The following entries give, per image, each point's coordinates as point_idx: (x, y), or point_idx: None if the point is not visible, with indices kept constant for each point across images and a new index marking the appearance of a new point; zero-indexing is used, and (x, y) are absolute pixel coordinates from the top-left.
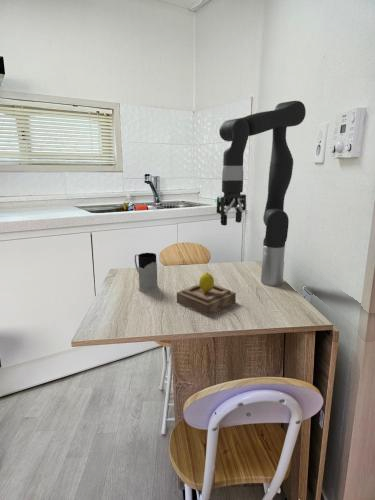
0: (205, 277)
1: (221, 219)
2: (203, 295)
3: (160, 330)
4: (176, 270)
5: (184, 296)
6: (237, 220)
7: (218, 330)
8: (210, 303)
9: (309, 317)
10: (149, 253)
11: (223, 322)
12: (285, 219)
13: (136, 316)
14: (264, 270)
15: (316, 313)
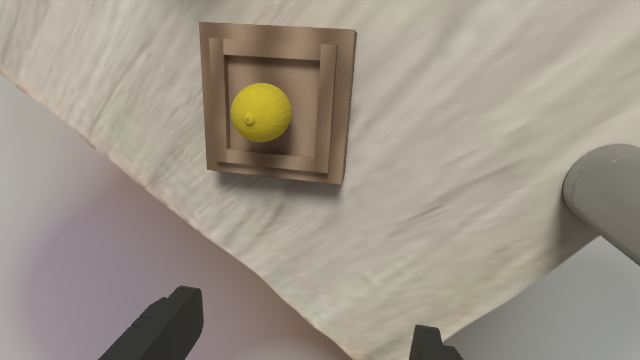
0: (234, 125)
1: (129, 336)
2: None
3: (91, 121)
4: None
5: (202, 66)
6: (414, 356)
7: (191, 221)
8: (222, 169)
9: (387, 346)
10: None
11: (226, 210)
12: None
13: (74, 9)
14: (604, 189)
15: None
